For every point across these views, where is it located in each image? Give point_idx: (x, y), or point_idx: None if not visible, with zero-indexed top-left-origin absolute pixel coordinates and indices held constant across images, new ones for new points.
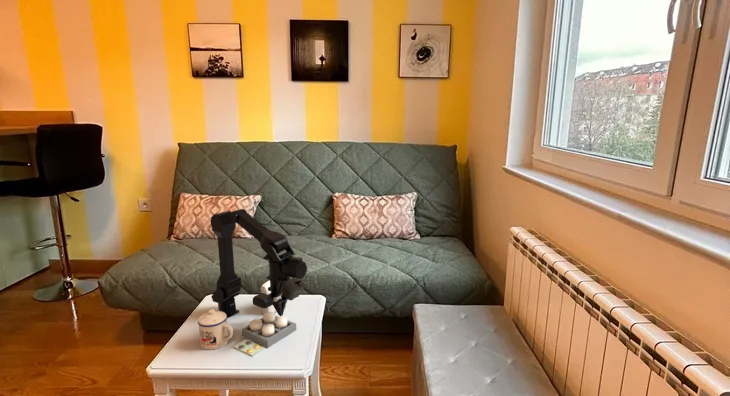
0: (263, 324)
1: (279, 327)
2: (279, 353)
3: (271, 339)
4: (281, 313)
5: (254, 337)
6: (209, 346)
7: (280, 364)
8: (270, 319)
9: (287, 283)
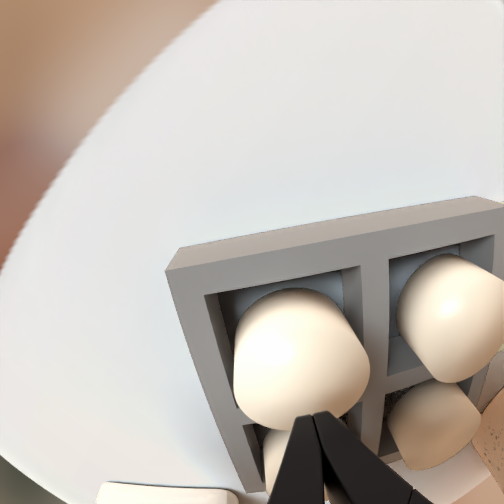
0: (374, 426)
1: (344, 317)
2: (461, 79)
3: (479, 208)
4: (332, 434)
5: None
6: None
7: (489, 9)
8: None
9: None
